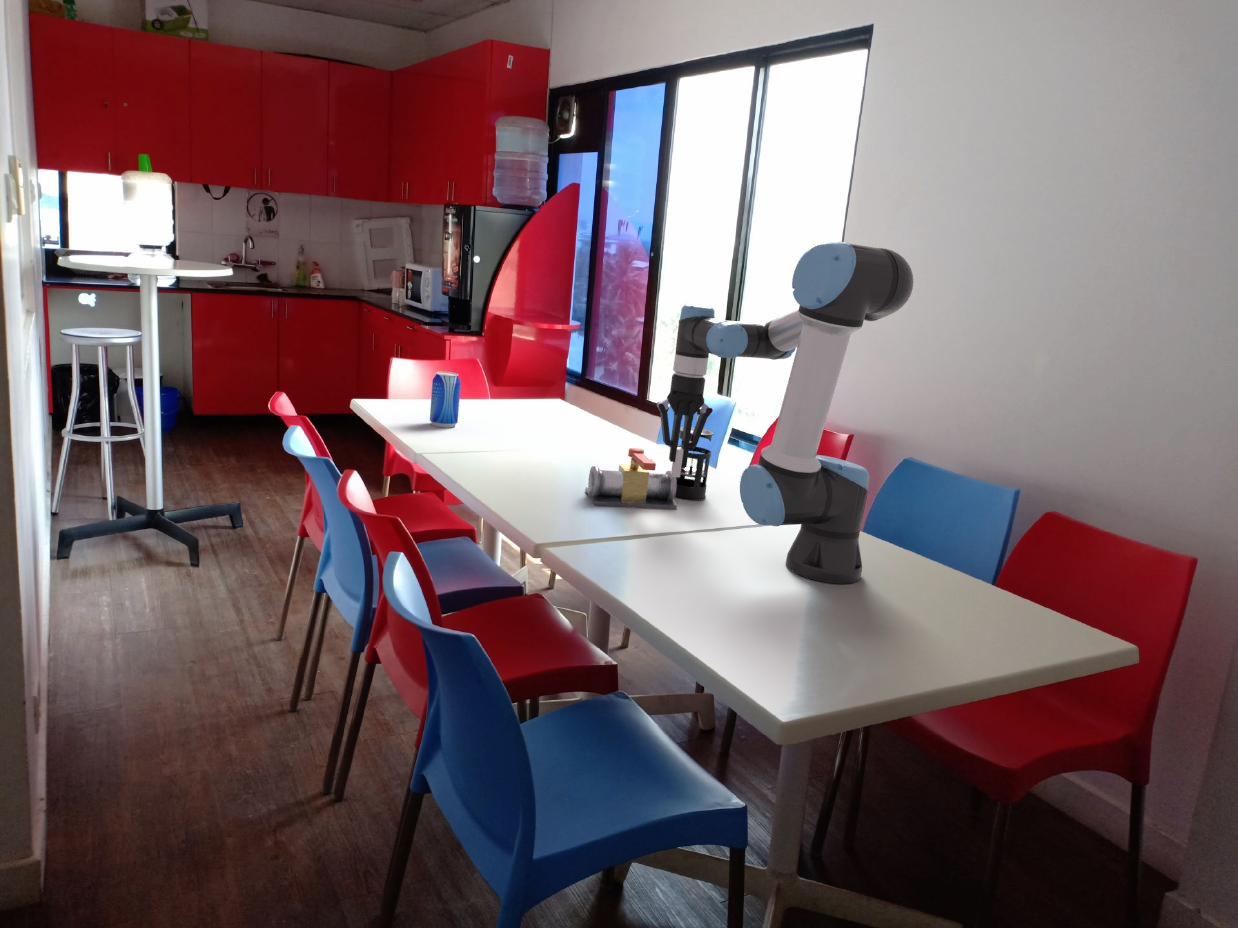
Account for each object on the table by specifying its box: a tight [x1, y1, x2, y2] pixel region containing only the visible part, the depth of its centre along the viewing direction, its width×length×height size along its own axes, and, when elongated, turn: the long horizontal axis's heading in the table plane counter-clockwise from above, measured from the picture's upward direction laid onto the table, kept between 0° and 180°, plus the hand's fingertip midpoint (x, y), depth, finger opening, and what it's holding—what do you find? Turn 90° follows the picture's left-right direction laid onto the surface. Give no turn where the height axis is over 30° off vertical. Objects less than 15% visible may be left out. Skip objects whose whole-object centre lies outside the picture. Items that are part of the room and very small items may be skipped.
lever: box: [627, 447, 657, 471], centre depth 216 cm, size 15×4×2 cm, turn 13°
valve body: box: [584, 457, 678, 511], centre depth 223 cm, size 20×12×10 cm, turn 103°
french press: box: [675, 408, 715, 502], centre depth 233 cm, size 12×9×23 cm
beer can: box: [429, 371, 462, 429], centre depth 281 cm, size 8×8×16 cm
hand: (675, 475), depth 214 cm, fingers closed
